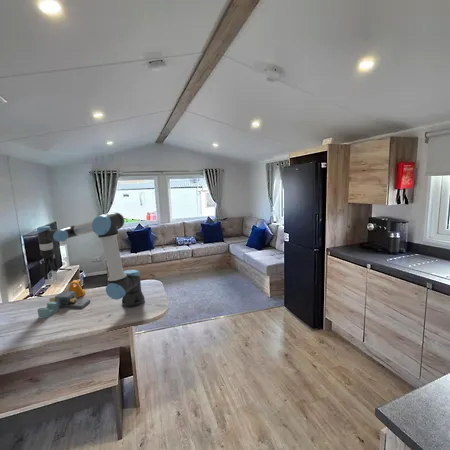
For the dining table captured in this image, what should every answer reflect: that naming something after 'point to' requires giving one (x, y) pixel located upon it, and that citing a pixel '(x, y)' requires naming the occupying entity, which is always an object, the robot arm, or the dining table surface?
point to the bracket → (76, 288)
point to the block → (64, 300)
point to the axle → (72, 300)
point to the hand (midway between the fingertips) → (51, 281)
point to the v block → (48, 310)
